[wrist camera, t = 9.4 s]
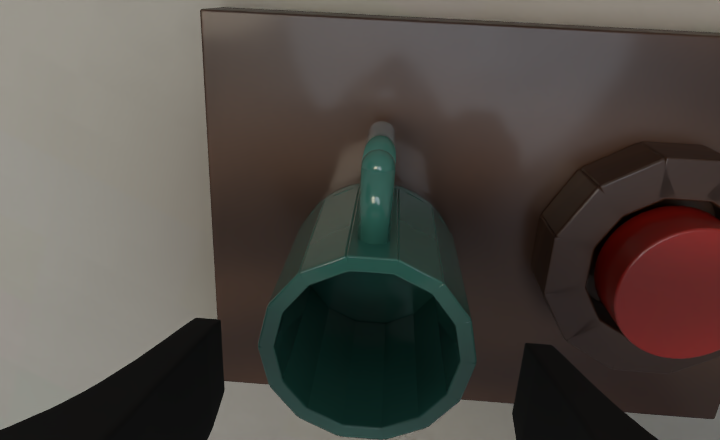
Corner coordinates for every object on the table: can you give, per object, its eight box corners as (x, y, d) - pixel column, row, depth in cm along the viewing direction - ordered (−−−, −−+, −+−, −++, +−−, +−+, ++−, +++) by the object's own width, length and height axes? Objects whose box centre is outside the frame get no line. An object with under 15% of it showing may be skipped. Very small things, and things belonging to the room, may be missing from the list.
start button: (713, 330, 17) (745, 365, 16) (582, 321, 18) (600, 354, 16) (752, 209, 16) (792, 233, 14) (608, 199, 16) (632, 223, 14)
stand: (685, 381, 22) (743, 458, 19) (236, 347, 23) (204, 415, 19) (796, 37, 17) (903, 47, 14) (221, 7, 18) (176, 10, 14)
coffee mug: (447, 329, 20) (464, 447, 14) (295, 318, 20) (259, 430, 15) (472, 117, 17) (505, 170, 12) (295, 106, 17) (252, 155, 12)
